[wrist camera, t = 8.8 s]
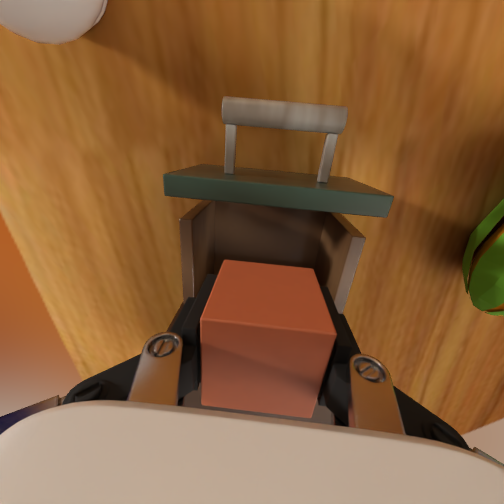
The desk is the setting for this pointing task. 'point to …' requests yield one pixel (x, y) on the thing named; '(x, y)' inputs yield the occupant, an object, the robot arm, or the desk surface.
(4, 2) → the flower vase
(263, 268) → the block
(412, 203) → the desk surface
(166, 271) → the desk surface
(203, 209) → the drawer
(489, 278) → the corn
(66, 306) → the desk surface
